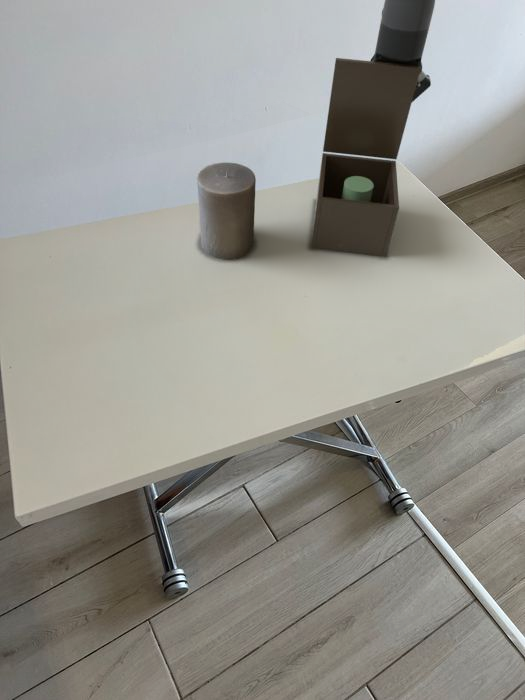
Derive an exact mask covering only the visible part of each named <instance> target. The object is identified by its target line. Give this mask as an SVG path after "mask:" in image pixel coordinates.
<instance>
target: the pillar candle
mask: <svg viewBox="0 0 525 700" xmlns="http://www.w3.org/2000/svg"><path fill="white" fill-rule="evenodd" d="M196 181H197V182H196V183H197V196H198V197H197V198H198V213H199V214H198V215H199V234H200V246H201V248H202V250H203V251H204V252H205V253H206V254H208V255H209V256H210V257H213V258H216V259H220V260H223V261H224V260H227V261H229V260H237V259H240V258H243V257H244V256H246V255H247V254H249V253H250V252H251V250H252V248H253V247H254V235H255V212H256V209H255V208H256V182H257V180H256V174H255V173H254V171H253V170H252V169H251V168H249V167H248V166H245V165H243V164H240V163H236V162H217V163H215V162H214V163H211V164H207V165H206V166H204V167H203V168H202V169H201V170H199V172H198V173H197V178H196Z"/></svg>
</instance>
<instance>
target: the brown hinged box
mask: <svg viewBox="0 0 525 700" xmlns="http://www.w3.org/2000/svg"><path fill="white" fill-rule="evenodd" d="M319 169H320V170H319V178H318V185H317V191H316V199H315V207H314V216H313V225H312V233H311V241H310V249H311V250H312V249H313V250H321V251H328V252H329V251H331V252H337V253H338V252H339V253H340V252H341V253H347V254H356V255H364V256H373V257H379V258H387V254H388V250H389V247H390V243H391V239H392V235H393V232H394V228H395V225H396V222H397V217H398V214H399V211H400V200H399V187H398V173H397V172H398V171H397V160H392V159H384V158H374V157H365V156H356V155H346V154H337V153H328V152H322V155H321V162H320V168H319ZM352 176H361V177H365V178H367V179H369V180H371V181H372V182H373V184H374V187H373V192H372V196H371V200H370V202H363V201H354V200H345V199H342V193H343V188H344V182H345V180H346V179H347V178H349V177H352Z"/></svg>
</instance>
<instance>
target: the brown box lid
mask: <svg viewBox="0 0 525 700" xmlns="http://www.w3.org/2000/svg"><path fill="white" fill-rule="evenodd" d="M334 61H335V62H334V69H333V75H332V76H333V77H332V81H331V83H332V84H331V90H330V96H329V106H328V112H327V119H326V125H325V132H324V141H323V147H322V153H330V154H339V155H349V156H358V157H367V158H377V159H386V160H397V159H398V155H399V152H400V147H401V144H402V141H403V136H404V134H405V130H406V126H407V121H408V117H409V114H410V111H411V107H412V104H413V102H412V99H413V96H414V92H415V88H416V84H417V80H418V77H419V73H420V69H421V67H420V66H414V65H404V64H393V63H383V62H373V61H370V60H361V59H351V58H340V57H336V58H335V60H334Z"/></svg>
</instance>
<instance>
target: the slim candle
mask: <svg viewBox="0 0 525 700" xmlns="http://www.w3.org/2000/svg"><path fill="white" fill-rule="evenodd" d="M373 187H374V184H373V182H372V181H371V180H369V179H367V178H365V177H361V176H352V177H349V178H347V179H346V180H345V182H344V188H343V193H342V199H345V200H354V201H363V202H370V200H371V196H372V192H373Z"/></svg>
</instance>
